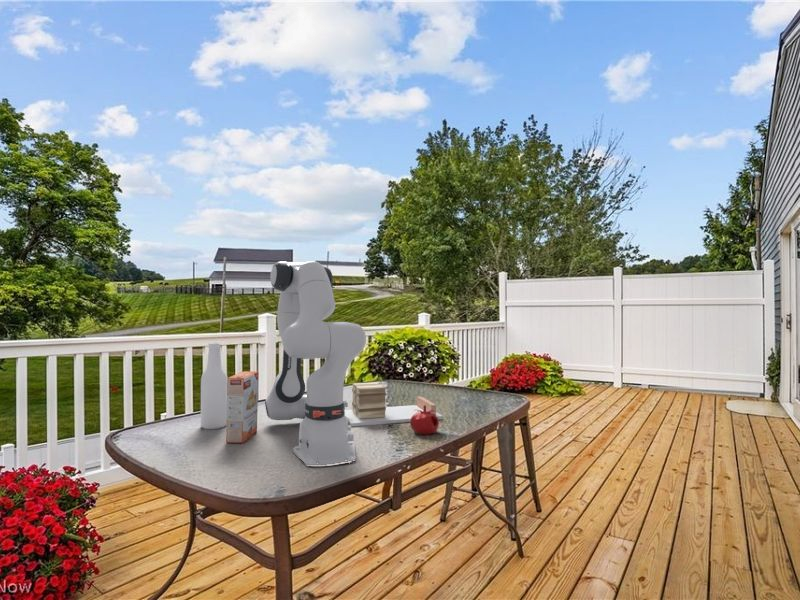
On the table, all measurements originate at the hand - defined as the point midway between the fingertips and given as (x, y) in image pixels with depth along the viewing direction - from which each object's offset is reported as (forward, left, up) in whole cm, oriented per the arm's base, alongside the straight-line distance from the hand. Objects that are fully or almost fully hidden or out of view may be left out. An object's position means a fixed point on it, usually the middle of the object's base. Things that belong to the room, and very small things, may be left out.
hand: (346, 403), depth 175 cm
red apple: (-24, -22, -6) cm, 33 cm away
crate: (0, -8, -5) cm, 10 cm away
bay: (0, -18, -6) cm, 18 cm away
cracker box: (-12, +38, -6) cm, 40 cm away
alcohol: (+4, +48, -6) cm, 48 cm away
